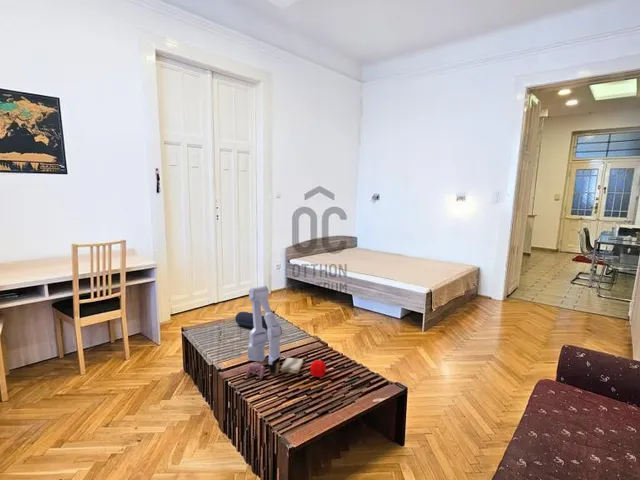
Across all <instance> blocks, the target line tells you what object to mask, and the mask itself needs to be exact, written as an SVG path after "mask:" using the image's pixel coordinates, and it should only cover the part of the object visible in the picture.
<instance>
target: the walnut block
mask: <svg viewBox="0 0 640 480" xmlns="http://www.w3.org/2000/svg"><path fill="white" fill-rule="evenodd" d="M279 372H280V361H279V362H277V365H276V369H275V373H271V371H270V368H269V367H268V374H269V375H272V376H278V375H279Z"/></svg>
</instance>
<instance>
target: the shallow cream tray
mask: <svg viewBox="0 0 640 480" xmlns="http://www.w3.org/2000/svg"><path fill="white" fill-rule="evenodd" d="M284 359H285V360H284V361H283V363H282V365H281V367H280V372H283V373H291V374H299V372H300V370H301V368H302V365H303V363H304V359H303V358H295V357H294V358H293V357H286V358H284Z"/></svg>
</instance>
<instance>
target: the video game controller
mask: <svg viewBox="0 0 640 480" xmlns="http://www.w3.org/2000/svg"><path fill="white" fill-rule="evenodd" d="M266 371H267V369H266V367H265V366H263V365H262V364H260V363H252V364H249V366H248V368H247V370H246V373H245V375H246V377H248V376H249V375H250V374H252V375H257V376H259V380H262V379H263V377H264V376H265V372H266Z"/></svg>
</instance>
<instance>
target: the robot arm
mask: <svg viewBox="0 0 640 480" xmlns="http://www.w3.org/2000/svg"><path fill="white" fill-rule="evenodd" d="M269 294H270V293H269V288H268V287H267V285H261V286H255V287H250V288H249V290H248V300H249V301H250V302H251V306H252V308H251V310H252V313H253V324H254V328H251V330H250V331H249V336H248V342H249V343H248V347H247V359H248V360H247V361H252V362H253V361H254V362H261V363H262V362H264V361H265V359H266V358H267V356H268V359H267V361H266V363H267V365H268V369H269V368H270V371H271V373H275V369H276V365H277V362H279V363H280V360H281V358H282V356H283V355H282V354H281V347H280V346H281V342H280V341H281V338H280V337H281V336H282V334H283V329H282V326H281V325H280V323H279V322H278V321H277V318H276V316H275V313H274V312H272V309H271V306H270V303H269ZM262 310H263V312H264V315H262ZM261 315H262V316H264V319H265V321H266V324H267V327H266V329H264V328H262V316H261ZM268 341H269V342H268ZM266 342H268V355H267V354H266V353H265V351H266V350H265V347H266V346H265V345H266Z"/></svg>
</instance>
